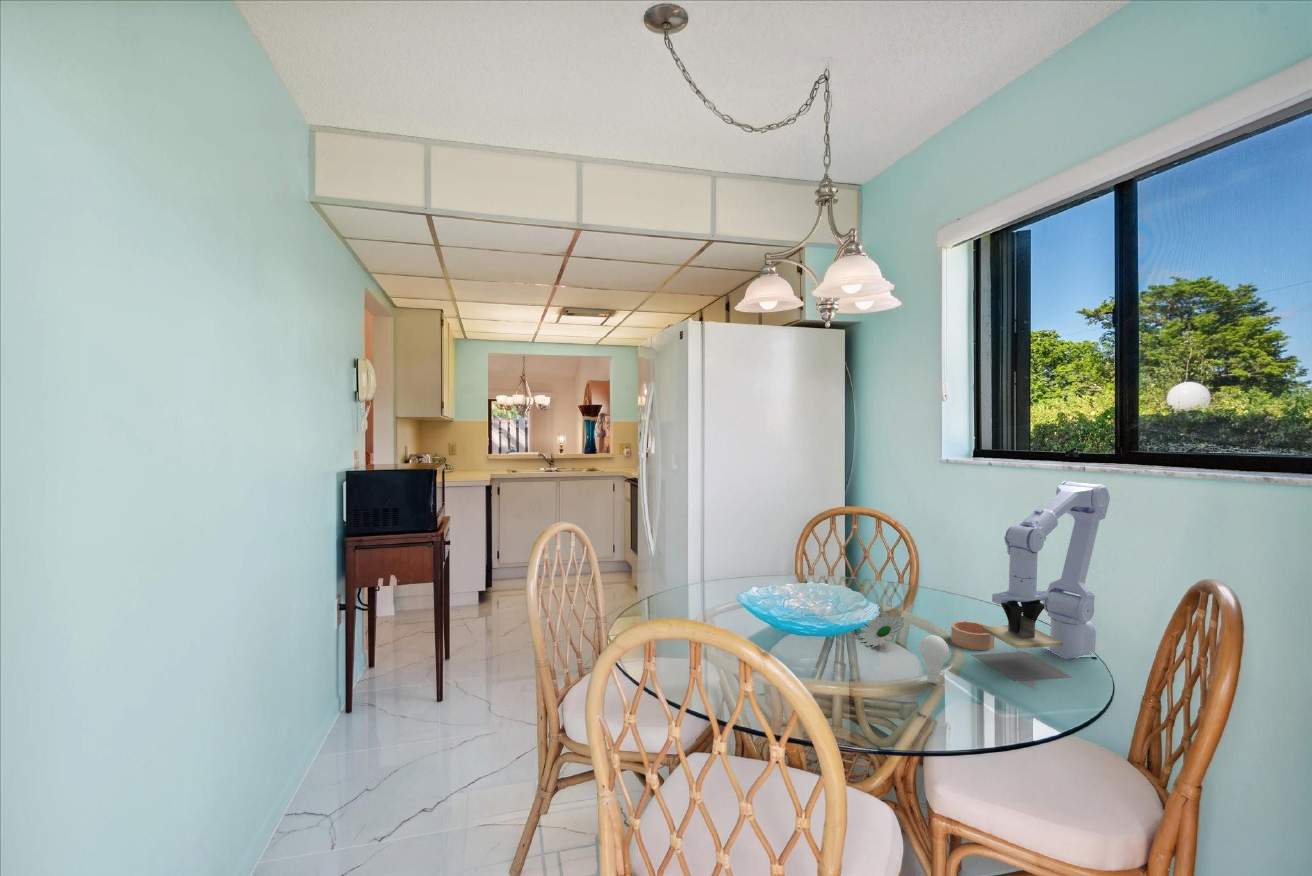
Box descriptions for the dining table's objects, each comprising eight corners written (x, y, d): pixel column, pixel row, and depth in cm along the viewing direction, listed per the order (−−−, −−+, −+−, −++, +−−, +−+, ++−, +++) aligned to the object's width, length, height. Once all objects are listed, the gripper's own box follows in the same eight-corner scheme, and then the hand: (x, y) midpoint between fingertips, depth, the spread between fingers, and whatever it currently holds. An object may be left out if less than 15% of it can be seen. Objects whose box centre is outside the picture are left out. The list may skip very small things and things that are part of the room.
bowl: (976, 636, 168) (977, 620, 168) (1002, 650, 159) (1002, 633, 158) (943, 638, 167) (943, 622, 167) (966, 652, 157) (967, 635, 157)
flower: (866, 594, 187) (908, 616, 157) (876, 609, 187) (920, 634, 157) (830, 618, 187) (866, 644, 157) (840, 633, 186) (878, 663, 156)
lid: (1025, 627, 155) (1025, 609, 154) (1063, 646, 143) (1063, 625, 143) (981, 629, 153) (982, 610, 153) (1016, 648, 141) (1017, 627, 141)
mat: (1025, 653, 157) (1025, 651, 157) (1072, 679, 142) (1072, 677, 142) (971, 656, 155) (971, 654, 155) (1014, 683, 140) (1014, 681, 140)
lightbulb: (940, 677, 143) (941, 631, 142) (952, 689, 136) (954, 641, 136) (914, 677, 143) (915, 630, 142) (924, 689, 137) (926, 640, 136)
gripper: (1037, 570, 152) (1035, 623, 153) (984, 572, 150) (982, 626, 151) (1060, 577, 145) (1058, 634, 146) (1004, 580, 143) (1002, 637, 144)
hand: (1021, 631), depth 148 cm, fingers closed on lid, 3 cm apart
